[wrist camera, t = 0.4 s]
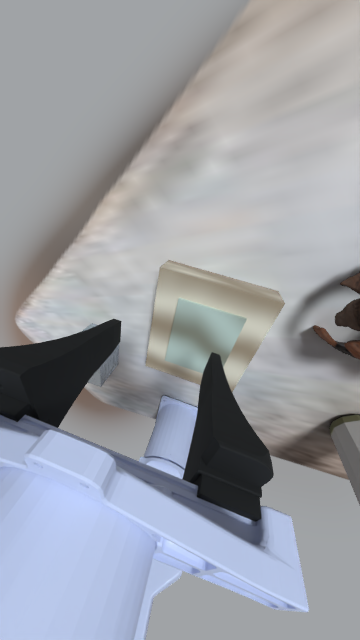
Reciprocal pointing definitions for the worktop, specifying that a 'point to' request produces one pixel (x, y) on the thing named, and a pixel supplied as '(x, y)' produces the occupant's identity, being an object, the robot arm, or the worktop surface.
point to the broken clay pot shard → (346, 321)
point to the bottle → (348, 447)
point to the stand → (207, 322)
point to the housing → (104, 366)
